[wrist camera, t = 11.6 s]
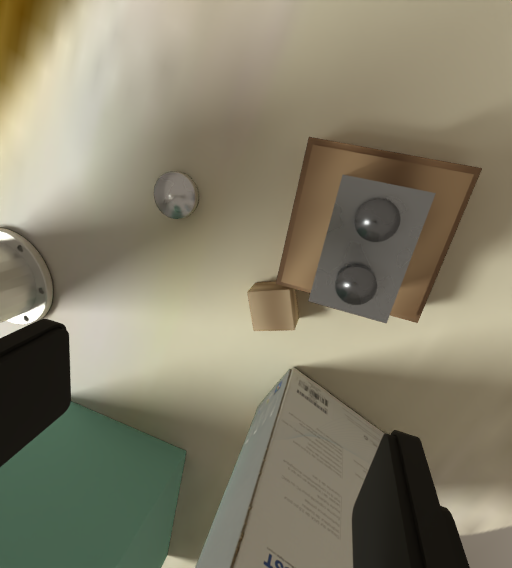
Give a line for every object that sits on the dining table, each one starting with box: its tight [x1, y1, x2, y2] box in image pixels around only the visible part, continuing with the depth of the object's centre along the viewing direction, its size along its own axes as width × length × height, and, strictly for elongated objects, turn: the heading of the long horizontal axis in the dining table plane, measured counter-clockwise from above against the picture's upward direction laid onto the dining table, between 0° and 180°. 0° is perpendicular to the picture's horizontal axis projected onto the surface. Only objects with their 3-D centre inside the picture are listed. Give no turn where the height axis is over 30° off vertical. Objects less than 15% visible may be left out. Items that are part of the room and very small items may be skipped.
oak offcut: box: [247, 281, 299, 331], centre depth 31 cm, size 4×4×3 cm
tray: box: [276, 137, 482, 323], centre depth 26 cm, size 12×12×4 cm
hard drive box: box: [195, 368, 384, 568], centre depth 26 cm, size 16×8×20 cm, turn 58°
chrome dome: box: [154, 172, 199, 219], centre depth 32 cm, size 4×4×1 cm
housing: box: [308, 175, 436, 323], centre depth 22 cm, size 8×5×7 cm, turn 169°
